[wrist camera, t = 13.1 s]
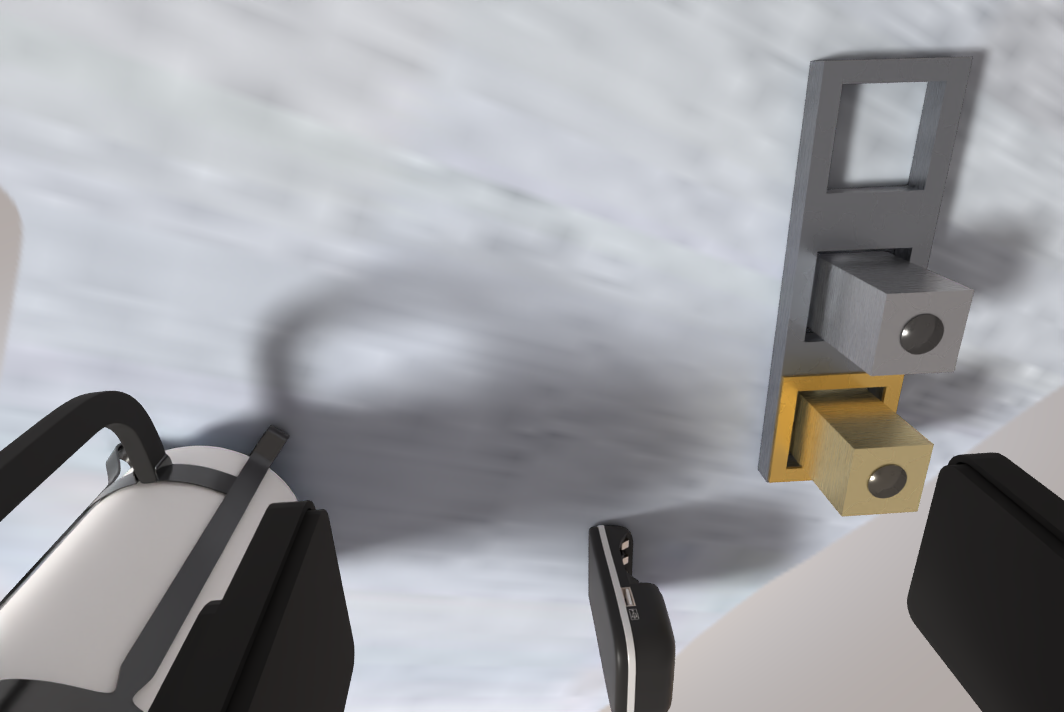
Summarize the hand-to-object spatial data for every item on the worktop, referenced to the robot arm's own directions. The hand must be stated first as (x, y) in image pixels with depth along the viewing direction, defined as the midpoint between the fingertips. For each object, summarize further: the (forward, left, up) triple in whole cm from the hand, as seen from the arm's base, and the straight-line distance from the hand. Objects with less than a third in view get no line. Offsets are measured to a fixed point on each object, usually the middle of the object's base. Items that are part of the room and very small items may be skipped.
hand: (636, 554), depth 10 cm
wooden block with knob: (+15, +20, -30) cm, 39 cm away
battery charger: (+26, +6, -30) cm, 40 cm away
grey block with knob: (+6, +20, -30) cm, 36 cm away
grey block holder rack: (+6, +20, -30) cm, 36 cm away
